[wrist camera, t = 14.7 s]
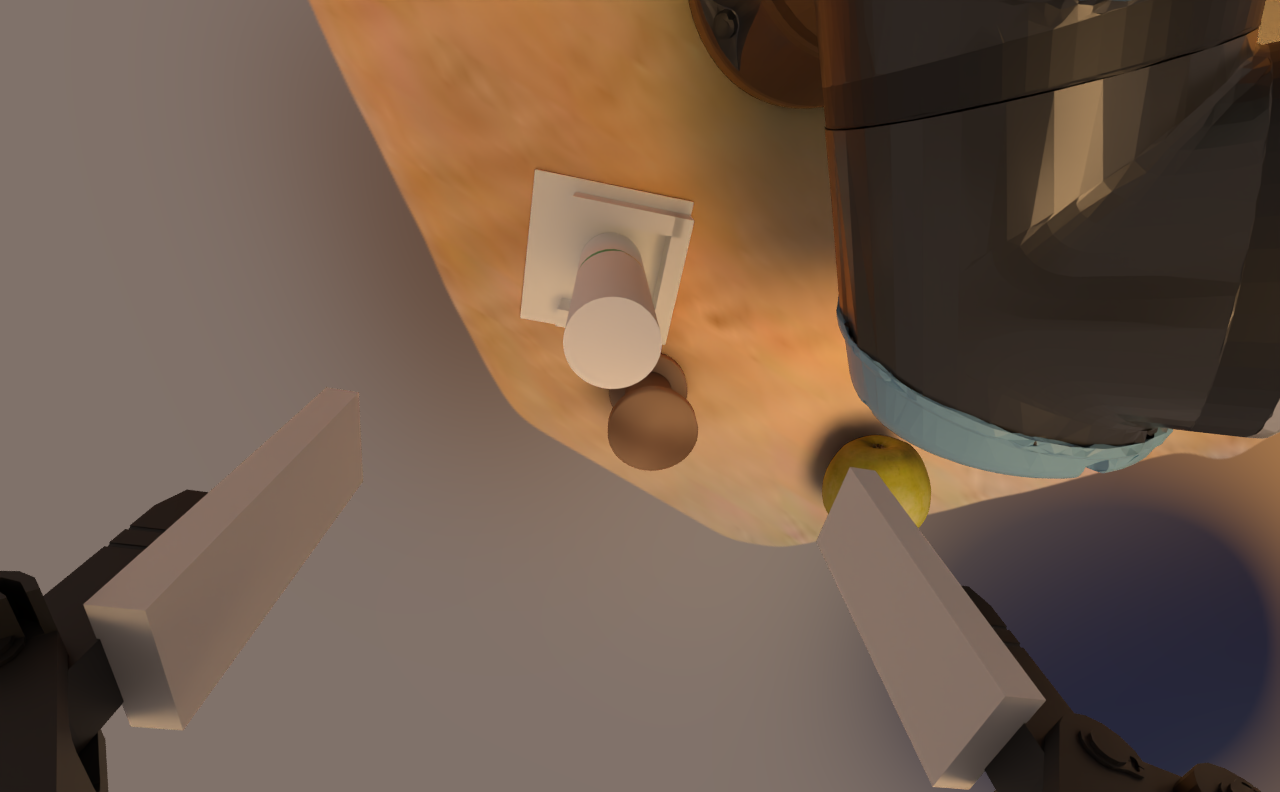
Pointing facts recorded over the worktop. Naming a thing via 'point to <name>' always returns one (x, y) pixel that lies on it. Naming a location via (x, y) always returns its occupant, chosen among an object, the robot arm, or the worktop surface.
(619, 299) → the tube
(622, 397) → the wooden cabinet knob
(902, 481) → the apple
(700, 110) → the worktop surface
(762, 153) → the worktop surface
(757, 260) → the worktop surface
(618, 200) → the notch board
